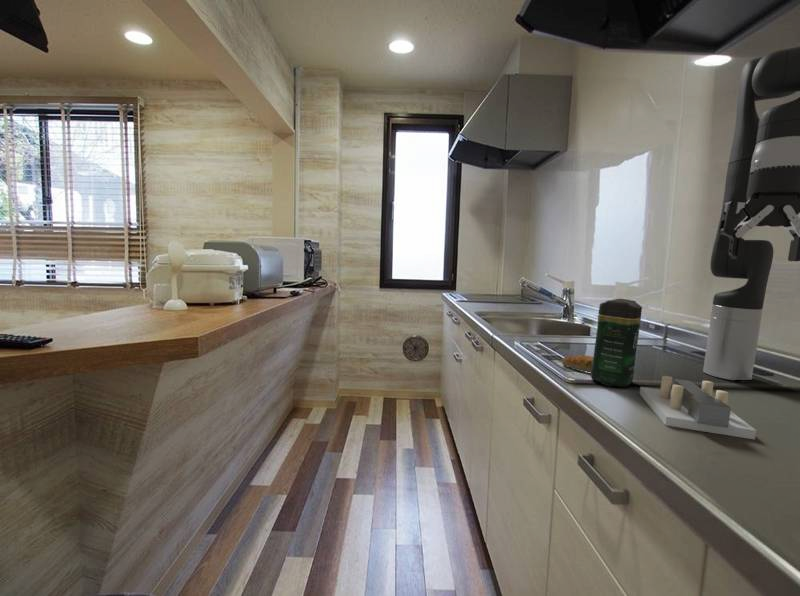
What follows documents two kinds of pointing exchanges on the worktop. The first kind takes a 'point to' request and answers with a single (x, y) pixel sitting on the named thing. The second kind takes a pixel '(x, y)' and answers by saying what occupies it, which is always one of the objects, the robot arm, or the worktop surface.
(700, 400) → the grey long block
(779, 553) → the worktop surface
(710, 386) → the rack
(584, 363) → the pastry
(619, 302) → the coffee jar
